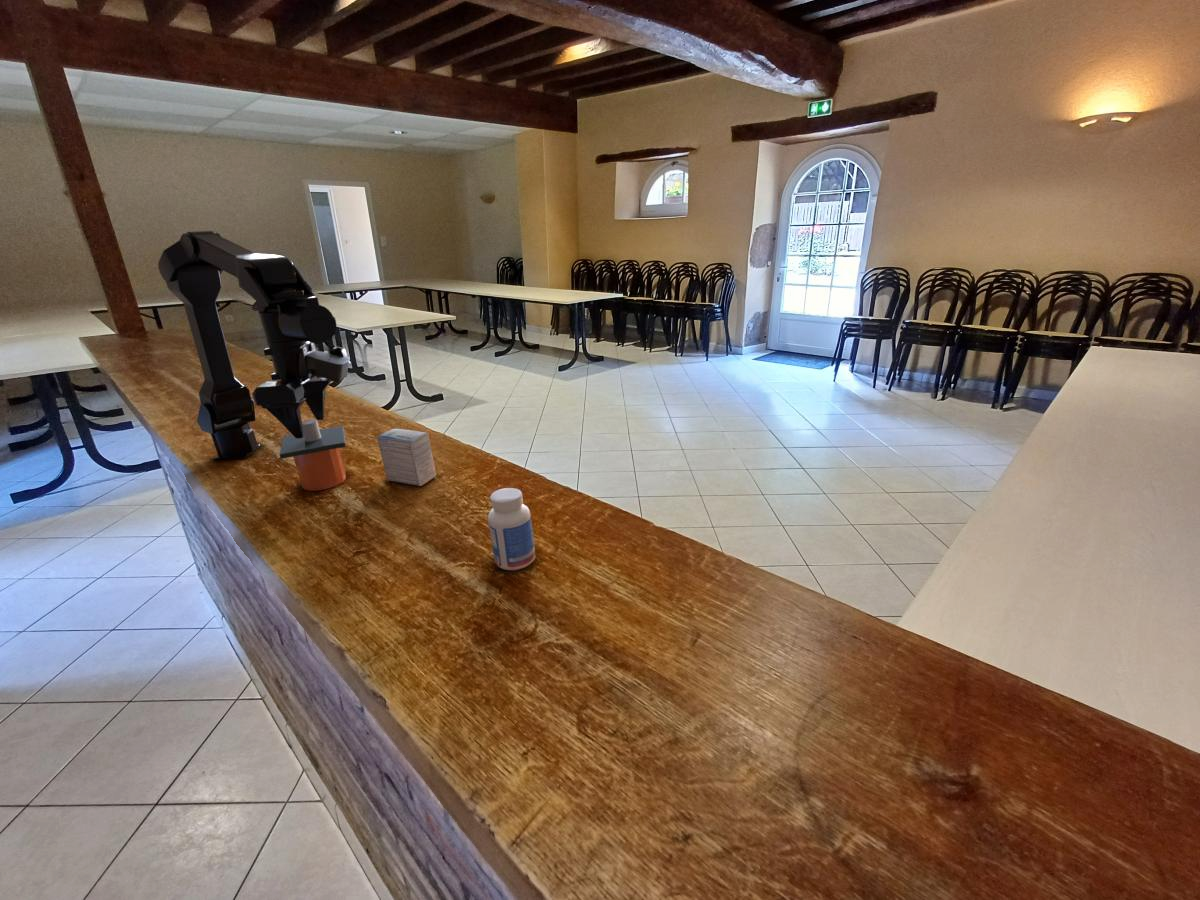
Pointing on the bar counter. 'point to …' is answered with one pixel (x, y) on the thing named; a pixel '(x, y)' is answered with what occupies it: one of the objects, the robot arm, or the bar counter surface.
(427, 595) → the bar counter surface
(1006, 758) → the bar counter surface
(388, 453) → the stack of paper cards
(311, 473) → the cup
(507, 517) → the pill bottle
